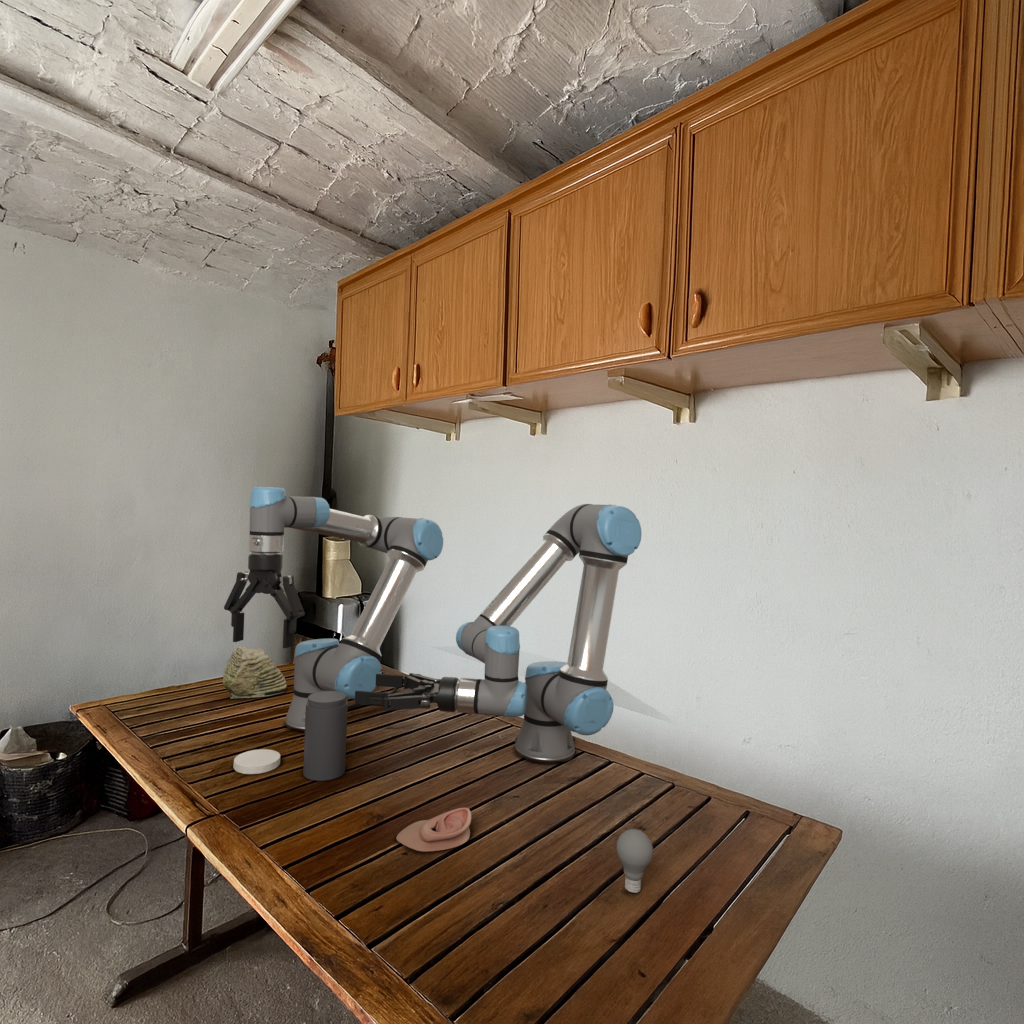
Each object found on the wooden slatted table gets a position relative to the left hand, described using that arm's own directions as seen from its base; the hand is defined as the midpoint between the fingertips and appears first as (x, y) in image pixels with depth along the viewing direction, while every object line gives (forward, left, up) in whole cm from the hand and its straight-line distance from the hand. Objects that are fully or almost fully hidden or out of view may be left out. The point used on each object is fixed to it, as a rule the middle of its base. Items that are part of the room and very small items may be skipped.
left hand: (262, 644), depth 148 cm
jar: (-8, +14, -28) cm, 33 cm away
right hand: (-13, +22, -8) cm, 27 cm away
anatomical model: (-6, +53, -28) cm, 60 cm away
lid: (0, 0, -27) cm, 27 cm away
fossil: (-26, -48, -28) cm, 61 cm away
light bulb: (-16, +89, -28) cm, 95 cm away
